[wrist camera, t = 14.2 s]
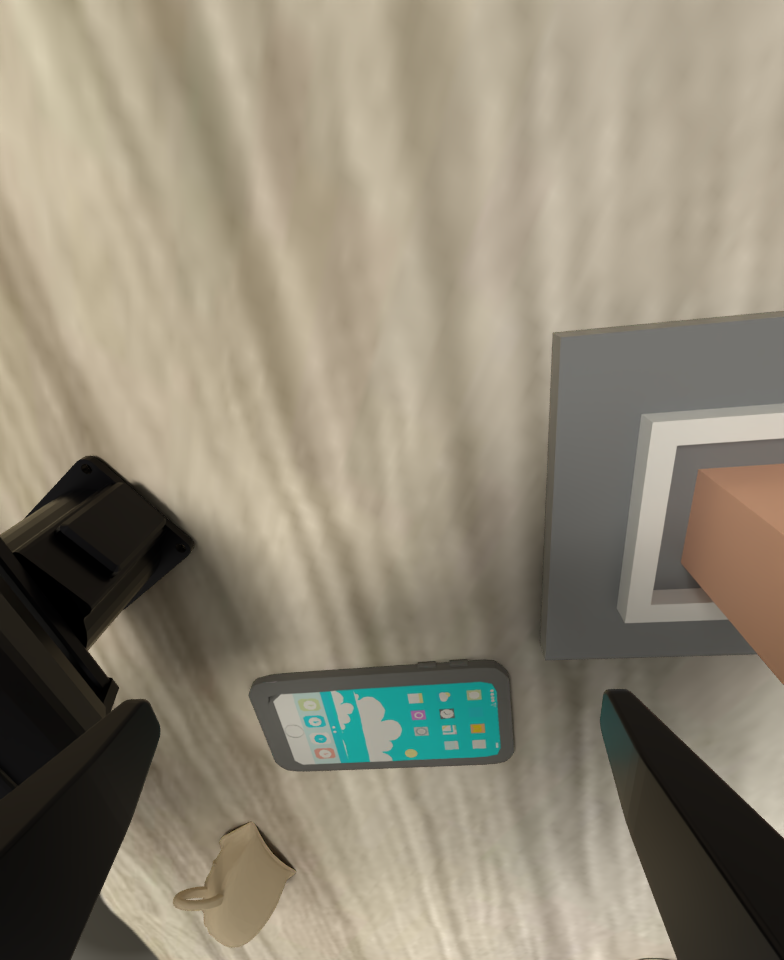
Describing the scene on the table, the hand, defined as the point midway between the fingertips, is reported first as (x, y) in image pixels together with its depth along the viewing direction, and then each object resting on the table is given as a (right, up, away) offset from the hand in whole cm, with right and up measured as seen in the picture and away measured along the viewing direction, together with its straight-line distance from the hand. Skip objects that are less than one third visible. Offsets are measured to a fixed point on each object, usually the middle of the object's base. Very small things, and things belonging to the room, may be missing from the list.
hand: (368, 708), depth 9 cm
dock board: (+15, +4, +12) cm, 20 cm away
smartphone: (0, -10, +20) cm, 22 cm away
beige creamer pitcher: (-10, -23, +26) cm, 36 cm away
